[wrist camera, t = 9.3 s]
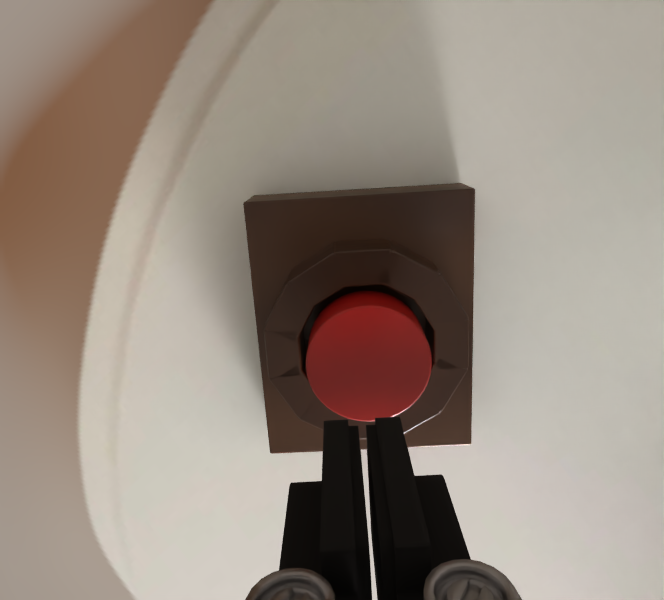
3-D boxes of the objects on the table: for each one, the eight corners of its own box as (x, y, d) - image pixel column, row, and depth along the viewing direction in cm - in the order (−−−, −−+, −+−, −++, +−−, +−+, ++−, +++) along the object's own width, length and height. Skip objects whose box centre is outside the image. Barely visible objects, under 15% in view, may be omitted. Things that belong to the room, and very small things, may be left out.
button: (304, 293, 18) (300, 309, 17) (423, 286, 18) (432, 302, 17) (312, 400, 19) (310, 425, 18) (425, 395, 19) (432, 419, 18)
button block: (252, 195, 21) (233, 209, 17) (461, 182, 21) (489, 193, 17) (276, 426, 24) (263, 481, 20) (460, 417, 24) (482, 472, 20)
